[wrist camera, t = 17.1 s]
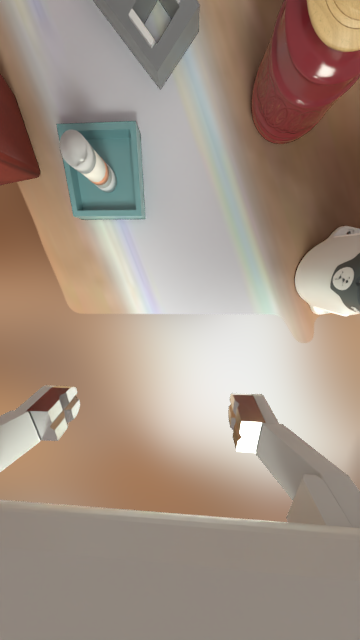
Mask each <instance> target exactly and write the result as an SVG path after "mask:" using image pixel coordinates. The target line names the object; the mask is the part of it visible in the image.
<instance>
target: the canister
mask: <svg viewBox="0 0 360 640" xmlns="http://www.w3.org/2000/svg"><path fill="white" fill-rule="evenodd" d="M359 77H360V0H284V1H283V3H282V6H281V8H280V11H279V13H278V17H277V20H276V23H275V27H274V31H273V34H272V36H271V39H270V42H269V45H268V47H267V50H266V53H265V55H264V56H263V59H262V61H261V63H260V66H259V69H258V71H257V74H256V78H255V82H254V87H253V93H252V102H251V109H252V117H253V121H254V124H255V126H256V128H257V130H258V132H259V133H260V134H261V136H262V137H264V138H265V139H266V140H268V141H270V142H272V143H276V144H285V143H290V142H292V141H295V140H297V139H298V138H300V137H301V136H303V135H304V134H306V133H307V132H309V131H310V130H311V129H312V128H313V127H314V126H315V125H316V124H317V123H318V122H319V121H320V120H321V119H322V117H323V116H324V115H325V113H326V112H327V111H328V109H329V108H330V107H331V106H332V105H333V104H334V103H335V102H336V101H337V100H338V99H339V98H340V97H341V96H342V95H343V94H344V93H345V92H347V91H348V90H349V89H350V88H351V87H352V85H353V84H354V83H355V82H356V81H357V80H358V78H359Z"/></svg>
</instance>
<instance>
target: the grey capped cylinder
mask: <svg viewBox="0 0 360 640" xmlns="http://www.w3.org/2000/svg"><path fill="white" fill-rule="evenodd" d="M60 151H61V154H62V157H63V158H64V160H65V161H66V162H67V163H68V164H69V165H70V166H72V167H73V168H74V169H75V170H77V171H78V172H80V173H82V174H83V175H84V176H85V177H87V178H88V179H89V180H90V181H91V182H92V183H94V184H95V185H96V186H97V187H98V188H100V189H101V190H102V191H104V192H107V193H110V192H112V191H113V190H114V189H115V188H116V185H117V177H116V175H115V173H114V171H113V170H112V169H111V168H110V167H109V165H108V164H106V163H105V161H104V160H103V159H102V158H101V157H100V156H99V155H98V154H97V153H96V151H95V150H94V149H93V147H92V146H91V145H90V144H89V142H88V141H87V140H86V139H85V138H84V137H83V135H82V134H81V133H79V132H78V131H76V130H67V131H65V132H64V133H63V135H62V136H61V139H60Z"/></svg>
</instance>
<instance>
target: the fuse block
mask: <svg viewBox="0 0 360 640" xmlns="http://www.w3.org/2000/svg"><path fill="white" fill-rule="evenodd" d="M93 1H94V2H95V4H96V5H97V6H98V8H99V9H100V10H101V12H102V13H103V14H104V16H105V17H106V18H107V20H108V21H109V22H110V24H111V25H112V26H113V28H114V29H115V30H116V32H117V33H118V34H119V36H120V37H121V38H122V40H123V41H124V42H125V44H126V45H127V46H128V48H129V49H130V50H131V52H132V53H133V54H134V56H135V57H136V58H137V59H138V61H139V62H140V63H141V65H142V66H143V67H144V69H145V70H146V71H147V73H148V74H149V75H150V77H151V78H152V79H153V81H154V82H155V83H156V85H157V86H158V87H159V89H160V90H161V88H162V87H163V85H164V84H165V82H166V81H167V79H168V78H169V76H170V74H171V73H172V71H173V70H174V68H175V67H176V65H177V64H178V62H179V61H180V59H181V58H182V56H183V55H184V53H185V52H186V50H187V49H188V47H189V46H190V44H191V43H192V41H193V39H194V38H195V36H196V35H197V33H198V32H199V8H200V5H199V3H198V1H197V0H159V1H160V3H161V4H162V6H163V7H164V9H165V10H166V12H167V13H168V15H169V16H170V18H171V19H172V20H171V22H170V23H169V25H168V27H167V28H166V30H165V31H164V33H163V35H162V36H161V38H160V40H159V41H158V43H157V45H156V43H155V40H154V38H153V37H152V35H151V34H150V32H149V31H148V30H147V28H146V27H145V25H144V23H145V21H146V20H147V18H148V16H149V14H150V13H151V11H152V9H153V7H154V6H155V4H156V2H157V0H93Z"/></svg>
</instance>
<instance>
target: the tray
mask: <svg viewBox="0 0 360 640" xmlns="http://www.w3.org/2000/svg"><path fill="white" fill-rule="evenodd" d="M57 130H58V135H59V141H60V139H61V136H62V135H63V133H64V132H65V131H67V130H76V131H78V132H79V133H81V134H82V135H83V137H84V138H85V139H86V140H87V141H88V142H89V144H90V145H91V146H92V147H93V149H94V150H95V151H96V153H97V154H98V155H99V156H100V157H101V158H102V159H103V160H104V161H105V163H106V164H108V165H109V167H110V168H111V169H112V170H113V171H114V173H115V175H116V177H117V185H116V188H115V189H114V190H113V191H112V192H110V193H107V192H104V191H102V190H101V189H100V188H98V187H97V186H96V185H95V184H94V183H92V182H91V181H90V180H89V179H88V178H87V177H85V176H84V175H83V174H82V173H80V172H78V171H77V170H75V169H74V168H73V167H72V166H70V165H69V164H68V163H67V162H66V161H65V160H64V158H63V162H64V168H65V173H66V178H67V184H68V189H69V194H70V200H71V205H72V211H73V216H74V217H77V218H79V219H82V220H107V219H145V205H144V188H143V170H142V153H141V136H140V131H139V129H138V126H137V124H136V121H123V122H96V123H69V124H57Z"/></svg>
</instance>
